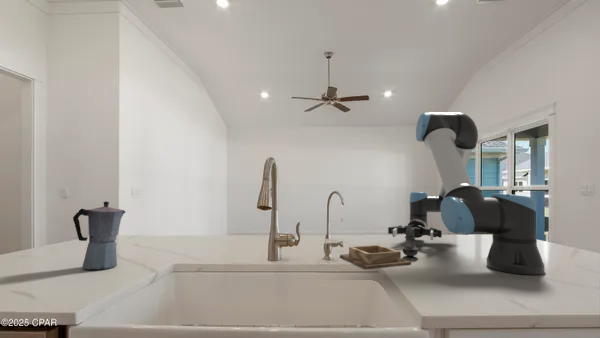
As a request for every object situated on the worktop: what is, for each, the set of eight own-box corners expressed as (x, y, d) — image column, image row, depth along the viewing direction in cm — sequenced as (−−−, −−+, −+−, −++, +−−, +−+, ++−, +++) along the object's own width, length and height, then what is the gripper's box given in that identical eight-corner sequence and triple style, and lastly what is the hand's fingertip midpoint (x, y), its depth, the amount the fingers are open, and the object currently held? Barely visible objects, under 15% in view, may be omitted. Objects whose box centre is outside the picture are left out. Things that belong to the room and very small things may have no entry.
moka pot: (132, 263, 104) (134, 201, 105) (83, 276, 90) (86, 203, 91) (112, 260, 108) (114, 200, 109) (62, 271, 94) (65, 202, 95)
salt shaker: (420, 260, 111) (420, 225, 112) (402, 259, 112) (402, 225, 113) (417, 257, 117) (417, 223, 117) (400, 256, 118) (400, 223, 119)
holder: (411, 264, 106) (410, 252, 106) (366, 268, 100) (366, 256, 100) (380, 253, 122) (380, 243, 122) (340, 257, 116) (340, 246, 116)
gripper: (448, 238, 137) (448, 247, 118) (387, 234, 148) (378, 242, 128) (447, 221, 138) (448, 227, 118) (387, 218, 148) (378, 223, 129)
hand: (412, 234), depth 123 cm, fingers open, 13 cm apart
